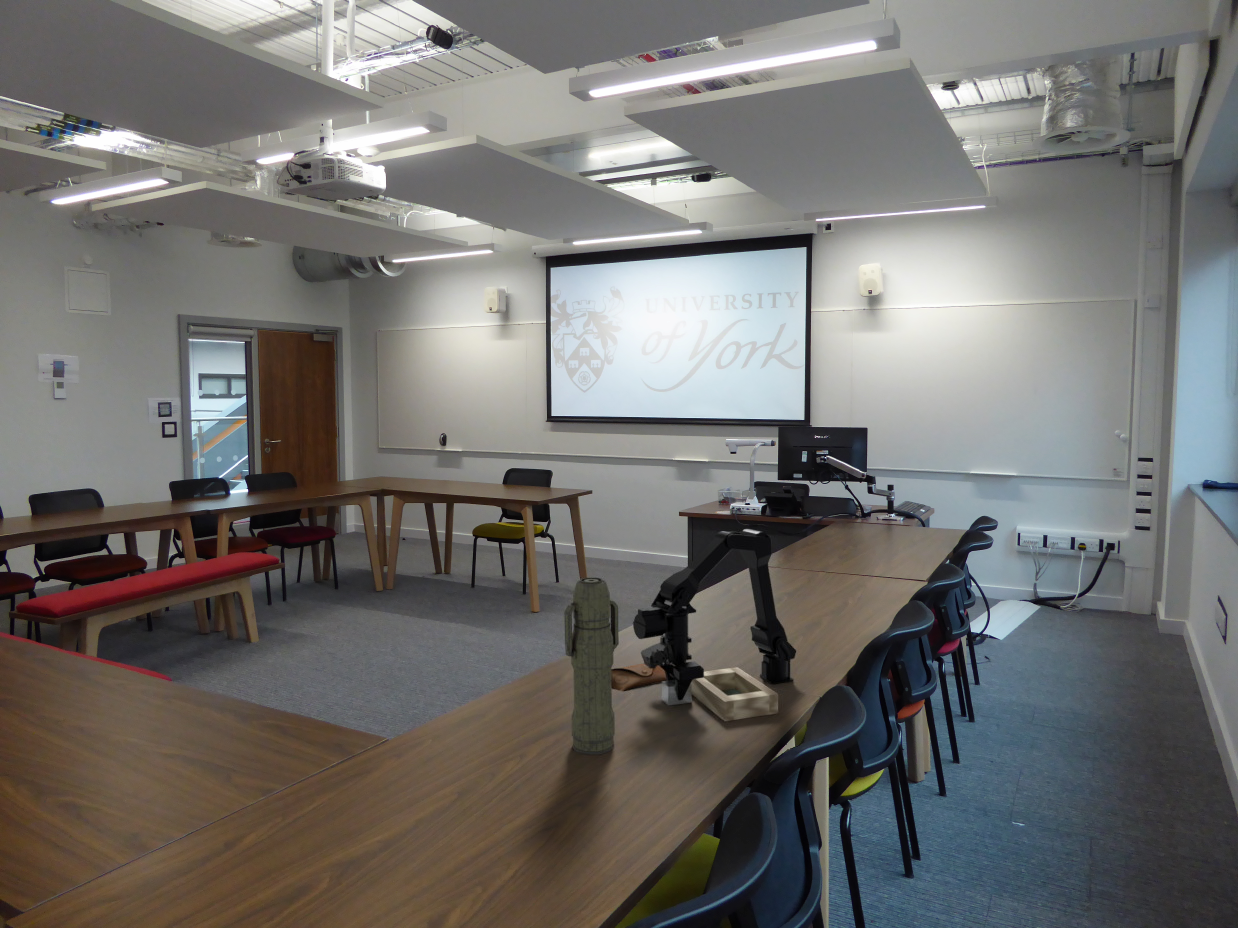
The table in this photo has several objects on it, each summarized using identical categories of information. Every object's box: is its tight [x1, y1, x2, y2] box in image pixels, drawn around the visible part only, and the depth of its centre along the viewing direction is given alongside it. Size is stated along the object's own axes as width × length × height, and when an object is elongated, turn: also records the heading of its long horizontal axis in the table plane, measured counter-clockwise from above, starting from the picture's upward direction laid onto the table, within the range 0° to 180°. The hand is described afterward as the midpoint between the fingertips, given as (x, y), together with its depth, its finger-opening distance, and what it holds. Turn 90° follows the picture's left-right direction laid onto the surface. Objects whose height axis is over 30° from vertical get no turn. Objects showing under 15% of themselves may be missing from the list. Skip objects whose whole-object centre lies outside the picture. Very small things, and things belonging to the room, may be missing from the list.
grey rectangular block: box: [661, 680, 693, 706], centre depth 190 cm, size 6×4×4 cm, turn 109°
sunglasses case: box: [611, 663, 667, 692], centre depth 205 cm, size 18×7×7 cm
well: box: [691, 666, 779, 722], centre depth 189 cm, size 14×20×4 cm
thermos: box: [563, 577, 620, 756], centre depth 165 cm, size 9×12×35 cm
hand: (676, 696), depth 190 cm, fingers closed on grey rectangular block, 4 cm apart
